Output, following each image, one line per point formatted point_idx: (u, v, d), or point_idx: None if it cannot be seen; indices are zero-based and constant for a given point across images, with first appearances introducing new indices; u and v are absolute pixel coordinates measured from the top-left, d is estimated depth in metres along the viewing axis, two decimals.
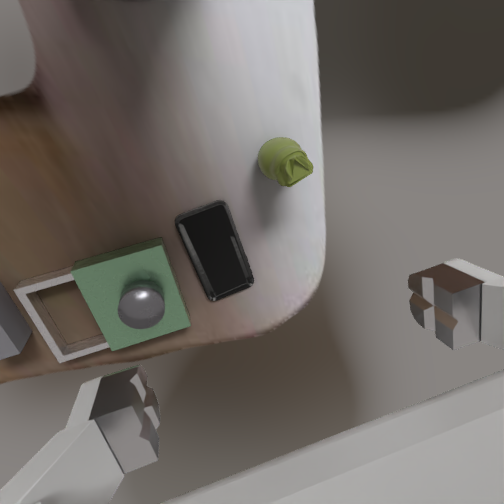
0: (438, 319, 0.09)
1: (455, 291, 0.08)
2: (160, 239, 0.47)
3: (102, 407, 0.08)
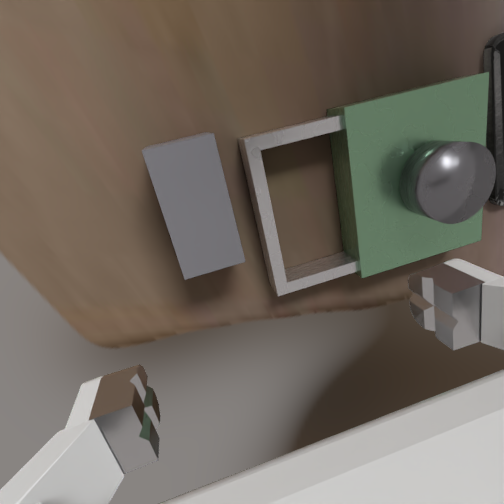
0: (438, 319, 0.09)
1: (455, 291, 0.08)
2: (464, 76, 0.28)
3: (102, 407, 0.08)
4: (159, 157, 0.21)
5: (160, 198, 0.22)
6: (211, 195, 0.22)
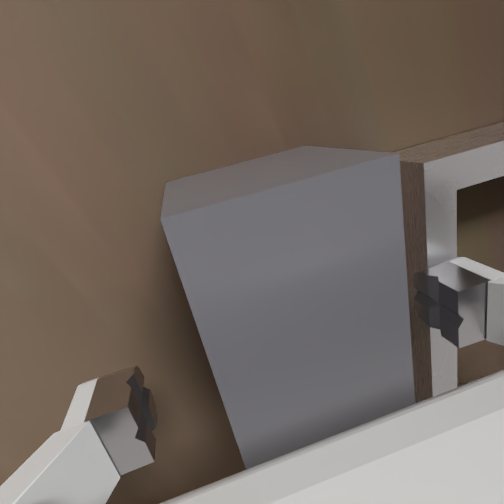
0: (443, 317, 0.09)
1: (461, 289, 0.08)
2: None
3: (98, 409, 0.08)
4: (221, 239, 0.06)
5: (216, 360, 0.07)
6: (363, 337, 0.08)
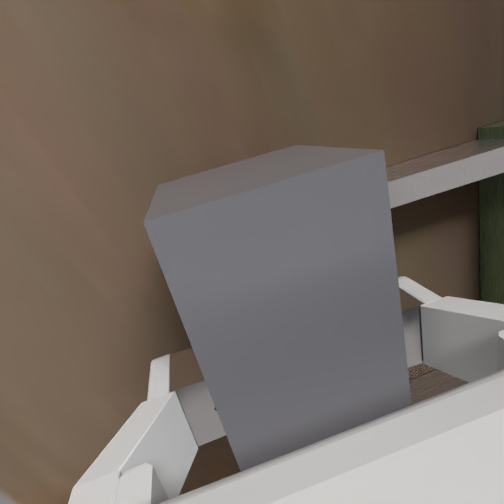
0: None
1: None
2: None
3: (180, 380, 0.08)
4: (205, 240, 0.06)
5: (206, 362, 0.07)
6: (355, 336, 0.07)
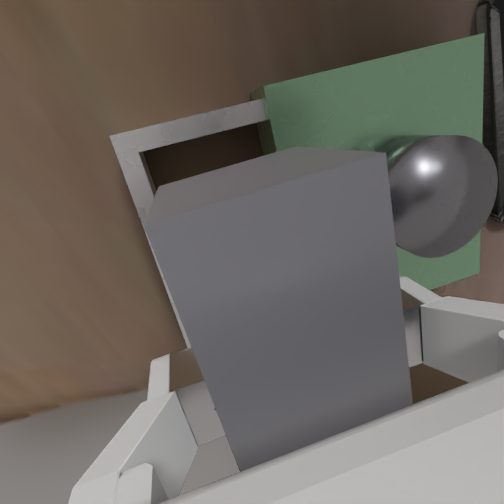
0: None
1: None
2: None
3: (180, 380, 0.08)
4: (206, 244, 0.06)
5: (207, 365, 0.07)
6: (357, 339, 0.07)
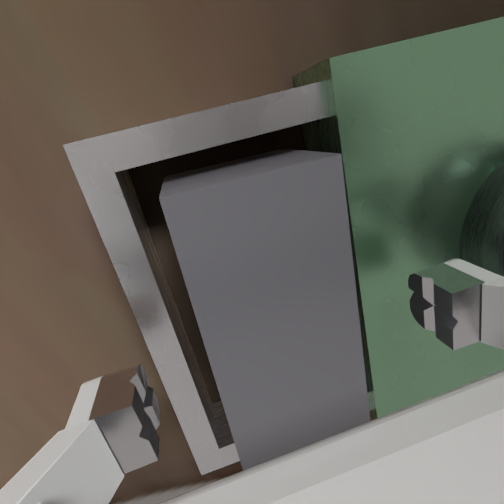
0: (438, 319, 0.09)
1: (455, 291, 0.08)
2: None
3: (103, 407, 0.08)
4: (204, 215, 0.08)
5: (200, 312, 0.09)
6: (318, 299, 0.09)
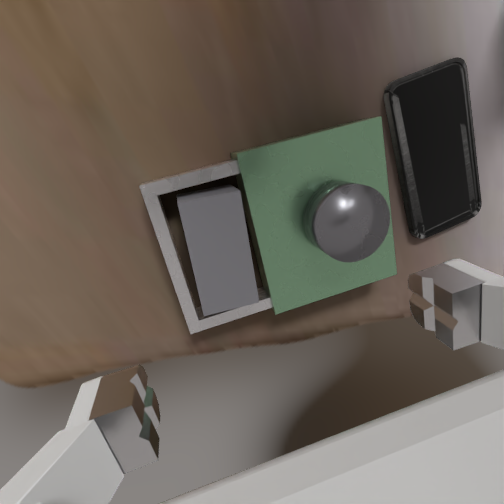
0: (438, 319, 0.09)
1: (455, 291, 0.08)
2: None
3: (103, 407, 0.08)
4: (192, 209, 0.24)
5: (189, 244, 0.25)
6: (233, 243, 0.25)
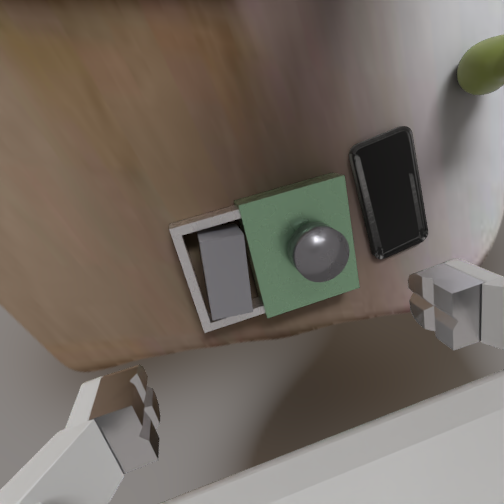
0: (438, 319, 0.09)
1: (455, 291, 0.08)
2: (334, 173, 0.39)
3: (103, 407, 0.08)
4: (209, 246, 0.34)
5: (205, 270, 0.35)
6: (237, 270, 0.35)
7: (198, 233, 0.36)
